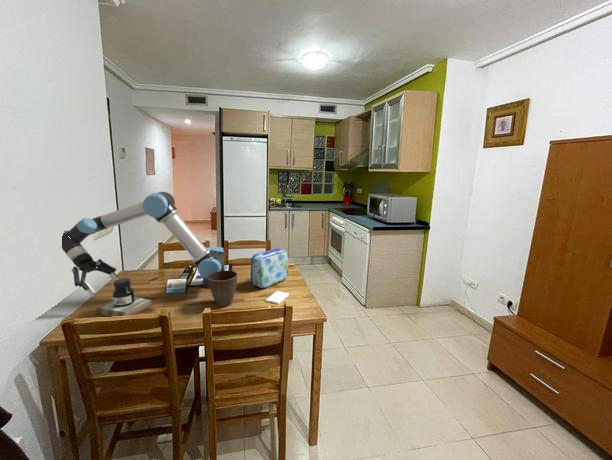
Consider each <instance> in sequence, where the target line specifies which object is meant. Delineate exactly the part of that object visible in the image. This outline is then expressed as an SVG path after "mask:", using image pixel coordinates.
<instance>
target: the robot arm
mask: <svg viewBox="0 0 612 460" xmlns="http://www.w3.org/2000/svg"><path fill="white" fill-rule="evenodd" d="M175 205H176V201H175V198H174V196H173V195H172V194H171V193H169V192H167V191H159V192H154V193H151V194H149V195H148V196H146V197H145V198H144V200H143V201H141V202H138V203H136V204H133V205H129V206H126V207H124V208H121V209H118V210H115V211H112V212H111V211H110V212H108V213H106V214H103V215H100V216H96V217H94V218H87V217H84V218H82V219H81V220H79V221H77V223H76V224H75V225H74V226H73V227H72V228H71V229H69V230H67V229H65V230H66V231H65V230H63V231H64V233H63V236H62V249H63V250H62V249H61V250H62V251H63V252H64V253H65V254H66V256H67V257H68V258H69V260H71V261H72V263H73V264H74V266H73V268H71V272H72V273H73V280H74V281H73V282H74V287H78V286H79V288H82V289H83V290H84V291H86V292H88V293H89V295H90V296H94V294H95V293H96V291H95V289H93V288H92V286H91V285H90V284H89V283H88V282H87V281H86V279H87V278H86V277H87V274H89V273H91V272H94V271H95V272H96V271H98V272H101V273H104V274H107V275H109V278H110V279H111V280H112V281H113V282H114V281H115V280H118V279H119V278H118V275H117V273H115V272H117V268H115V267H114V266H111V264H110V265H109V264H108V263H107V262H105V261H103V260H102V259H100V258H99V259H98V260H96V261H95V260H94V259H93V257H92V256H91V254H90V253H88V251H87V249H86V248H85V247H84V246H83V245H82V244H81V243H82V242H83V241H84V240H85V239H86V238H88V237H89V236H90V235H93V234H96V233H98V232H100V231H104V230H107V229H109V228H113V227H116V226H119V225H122V224H124V223H128V222H130V221H133V220H136V219H139V218H142V217H145V216H149V217H150V218H154V220H155V221H156V222H158V224H163V225H164V226H165V227H166V229H167V230H168V231H169V232H170V233H171V234H172V235H173V236H174V238H176V240H177V241H178V242H179V244H180V245H181V246H182V247H183V248H184V249H185V251H187V253H189V255H190V256H191V257H192V258H193V259H192V262H193V264H194V265H195V266H196V267H197V270H198V274H199V275H200V276H201V277H202V286H203V287H204V288H206V289H207V288H208V289H210V286H209V283H208V278H207V276H208V275H209V274H211V273H213V272H217V271H224V270H225V251H224V247H222V246H221V247H220V246H212V247H211V246H208V247H206V246H205V244H203V242H202V241H201V240H200V239H199V238H198V236H197V234H195V233H194V231H193V230H191V228H190V227H189V226H188V224H187V223H186V222H185V221H184V220H183V218H182V217H181V216H180V215H179V214H178V211H179V209H178V208H177V206H175ZM68 236H69V237H70V238H71V239H70V238H69V237H68ZM79 271H80V272H81V271H82V272H81V275H80V273H79ZM80 276H81V277H80Z"/></svg>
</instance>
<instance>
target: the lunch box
mask: <svg viewBox="0 0 612 460" xmlns="http://www.w3.org/2000/svg"><path fill="white" fill-rule="evenodd" d="M288 274H289V253H288V252H287V250H282V249H280V248H274V249H270V250H266V251H262V252H257V253H255V254H253V255H252V256H251V259H250V283H251V285H253V286H257V287H259V288H262V289H266V288H269V287H271V286H273V285H276V284H277V283H281V282H282V281H285V280H286V279H287V278H288Z"/></svg>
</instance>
